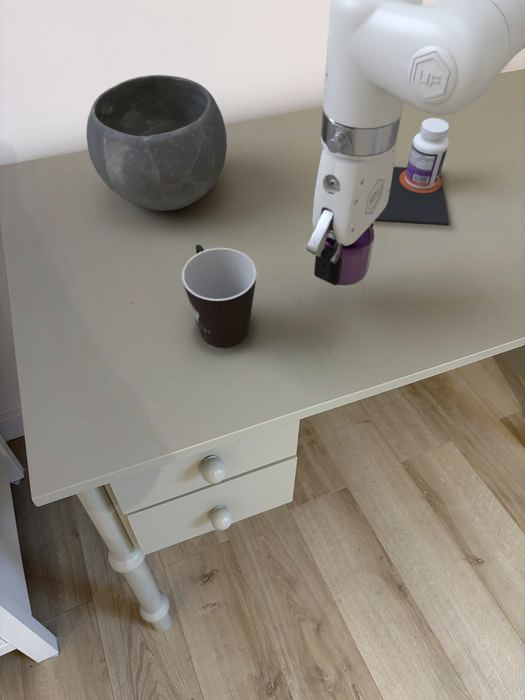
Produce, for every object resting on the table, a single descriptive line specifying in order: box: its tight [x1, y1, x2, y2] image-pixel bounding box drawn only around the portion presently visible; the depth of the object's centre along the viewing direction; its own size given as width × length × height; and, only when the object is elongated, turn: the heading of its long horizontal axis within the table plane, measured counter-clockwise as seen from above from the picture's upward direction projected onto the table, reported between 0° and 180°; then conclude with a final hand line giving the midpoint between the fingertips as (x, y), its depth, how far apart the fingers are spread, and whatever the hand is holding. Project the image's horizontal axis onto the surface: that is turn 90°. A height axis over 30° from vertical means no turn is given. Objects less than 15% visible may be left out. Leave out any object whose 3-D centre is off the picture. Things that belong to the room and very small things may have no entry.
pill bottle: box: [405, 117, 450, 189], centre depth 83 cm, size 5×5×10 cm
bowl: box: [86, 74, 228, 211], centre depth 80 cm, size 20×20×15 cm
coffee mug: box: [181, 244, 258, 349], centre depth 66 cm, size 12×9×10 cm
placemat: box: [374, 166, 450, 226], centre depth 86 cm, size 18×14×1 cm
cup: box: [324, 225, 375, 286], centre depth 64 cm, size 7×7×6 cm
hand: (342, 261), depth 66 cm, fingers closed on cup, 6 cm apart
